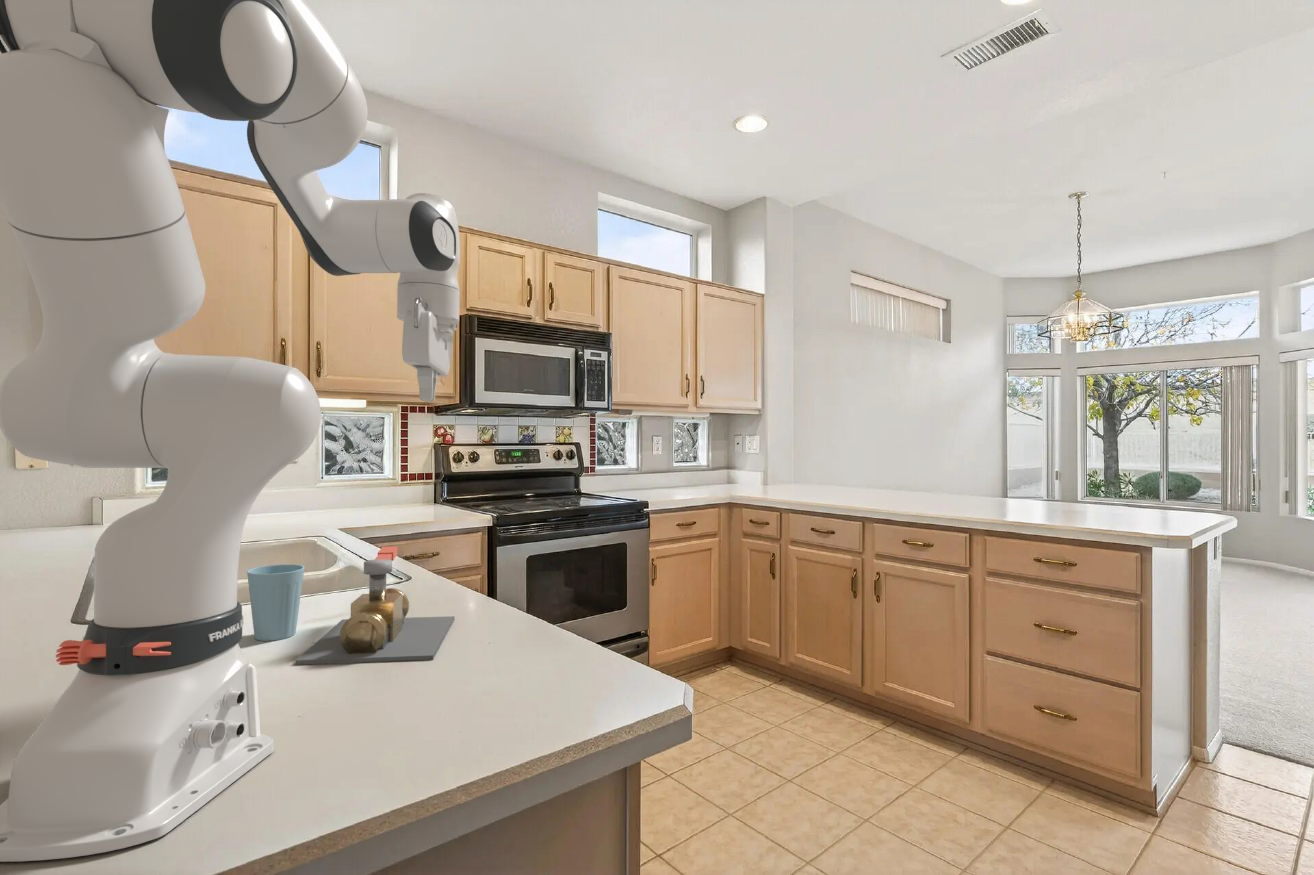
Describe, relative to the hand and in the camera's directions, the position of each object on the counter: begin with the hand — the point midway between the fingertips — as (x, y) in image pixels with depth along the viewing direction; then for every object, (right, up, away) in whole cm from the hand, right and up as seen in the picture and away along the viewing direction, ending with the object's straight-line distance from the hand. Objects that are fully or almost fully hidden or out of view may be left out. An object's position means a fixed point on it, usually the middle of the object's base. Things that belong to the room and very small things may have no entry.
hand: (427, 401), depth 98 cm
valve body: (-8, -36, +2) cm, 37 cm away
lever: (-10, -26, +8) cm, 29 cm away
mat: (-7, -37, +3) cm, 37 cm away
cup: (-25, -36, +4) cm, 44 cm away
